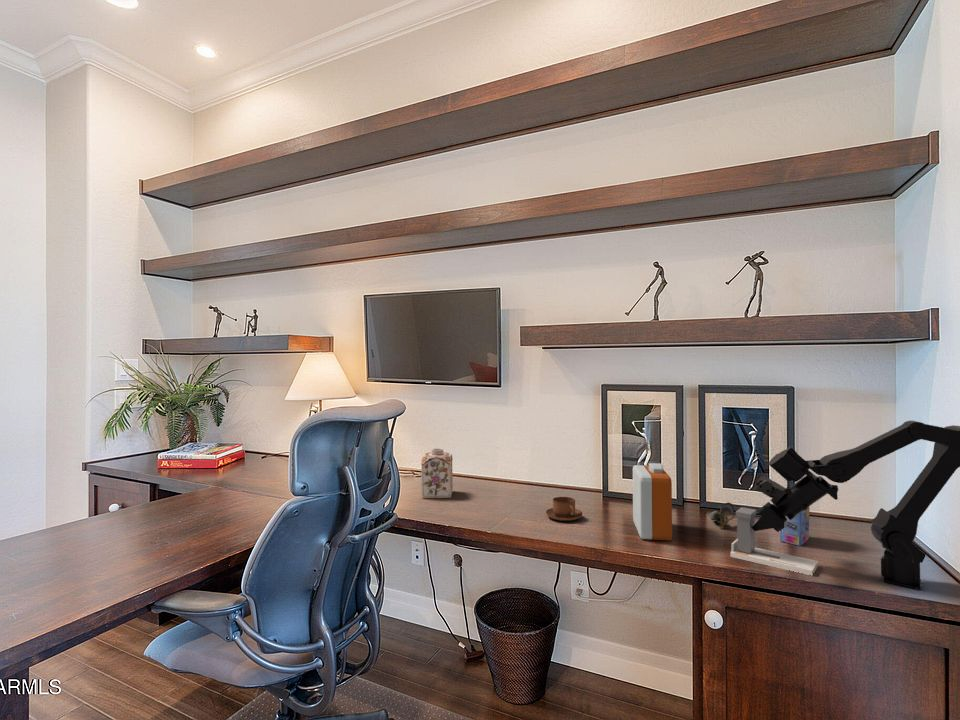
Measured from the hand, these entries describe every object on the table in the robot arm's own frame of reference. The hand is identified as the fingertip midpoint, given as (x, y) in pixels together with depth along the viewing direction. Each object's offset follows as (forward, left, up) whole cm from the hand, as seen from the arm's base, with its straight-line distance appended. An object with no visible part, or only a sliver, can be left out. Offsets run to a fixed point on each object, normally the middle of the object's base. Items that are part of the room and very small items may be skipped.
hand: (753, 529), depth 130 cm
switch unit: (-4, 0, -7) cm, 8 cm away
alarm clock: (+29, -2, -7) cm, 30 cm away
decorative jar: (+110, +12, -7) cm, 111 cm away
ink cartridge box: (-5, -22, -7) cm, 24 cm away
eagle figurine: (+14, -22, -8) cm, 28 cm away
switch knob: (+2, 0, -6) cm, 6 cm away
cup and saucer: (+56, +4, -8) cm, 57 cm away
